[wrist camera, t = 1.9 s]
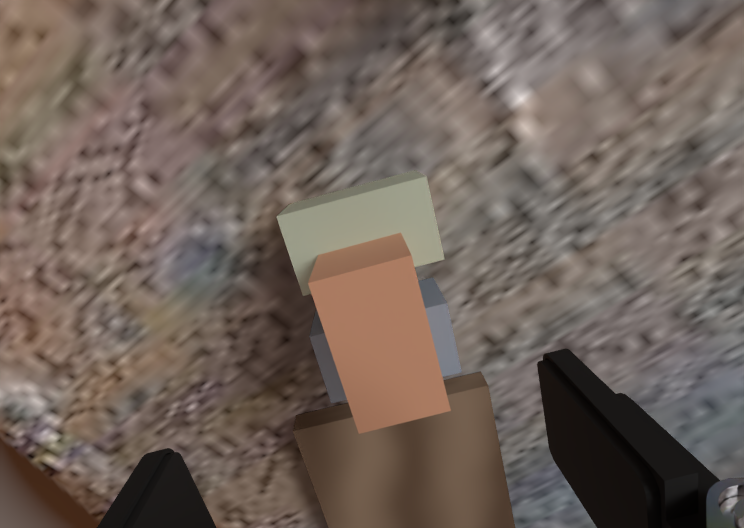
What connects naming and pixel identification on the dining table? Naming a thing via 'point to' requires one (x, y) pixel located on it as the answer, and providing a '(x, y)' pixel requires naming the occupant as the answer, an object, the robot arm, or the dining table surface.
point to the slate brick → (439, 330)
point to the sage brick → (362, 221)
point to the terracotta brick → (379, 332)
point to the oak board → (410, 466)
